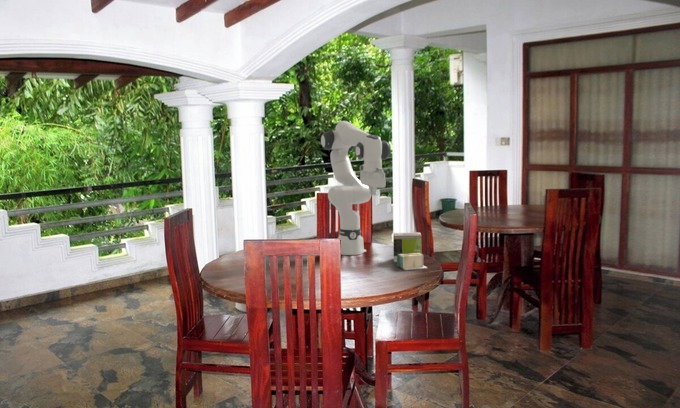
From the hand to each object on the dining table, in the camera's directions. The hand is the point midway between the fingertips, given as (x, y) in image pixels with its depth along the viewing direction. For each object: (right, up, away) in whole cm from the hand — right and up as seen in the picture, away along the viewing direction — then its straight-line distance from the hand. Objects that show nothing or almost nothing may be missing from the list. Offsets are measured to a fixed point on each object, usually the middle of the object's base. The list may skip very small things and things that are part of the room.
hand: (372, 194), depth 299 cm
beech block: (+13, -34, +2) cm, 36 cm away
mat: (+20, -37, +4) cm, 42 cm away
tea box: (+20, -35, +18) cm, 44 cm away
